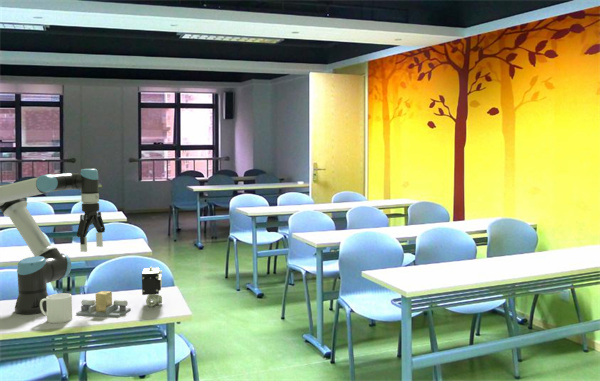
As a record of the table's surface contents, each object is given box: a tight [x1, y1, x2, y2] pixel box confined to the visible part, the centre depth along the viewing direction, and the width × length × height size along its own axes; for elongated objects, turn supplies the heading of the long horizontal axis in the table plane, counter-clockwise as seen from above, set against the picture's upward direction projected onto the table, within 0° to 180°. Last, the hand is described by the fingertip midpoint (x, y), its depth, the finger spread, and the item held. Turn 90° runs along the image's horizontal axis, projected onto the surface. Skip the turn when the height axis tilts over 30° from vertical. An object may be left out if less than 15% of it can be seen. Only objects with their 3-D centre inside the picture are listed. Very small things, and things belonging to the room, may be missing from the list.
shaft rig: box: [75, 299, 131, 318], centre depth 261 cm, size 20×11×5 cm, turn 79°
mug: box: [40, 292, 73, 324], centre depth 250 cm, size 13×10×10 cm
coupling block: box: [95, 290, 113, 312], centre depth 261 cm, size 5×5×8 cm
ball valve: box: [141, 266, 163, 307], centre depth 273 cm, size 18×8×18 cm, turn 11°
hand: (91, 249), depth 270 cm, fingers open, 13 cm apart
